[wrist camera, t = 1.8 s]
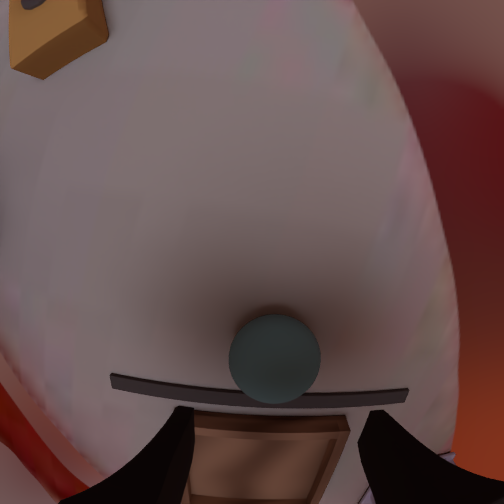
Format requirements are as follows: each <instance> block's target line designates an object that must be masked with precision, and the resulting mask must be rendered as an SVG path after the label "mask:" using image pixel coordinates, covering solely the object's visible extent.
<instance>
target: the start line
mask: <svg viewBox="0 0 504 504" xmlns="http://www.w3.org/2000/svg"><path fill="white" fill-rule="evenodd" d="M110 380H111V385H112V388H113V389H118V390H123V391H128V392H133V393H138V394H144V395H149V396H155V397H162V398H168V399H175V400H182V401H190V402H198V403H208V404H218V405H229V406H243V407H261V408H342V407H360V406H373V405H384V404H394V403H403V402H405V400H406V397H407V395H408V392H409V389H408V388H405V389H395V390H383V391H369V392H349V393H304V394H302V395H301V396H299V397H298V398H296V399H294V400H291V401H288V402H285V403H278V404H270V403H263V402H260V401H257V400H255V399H253V398H251V397H249V396H248V395H246V394H245V393H244V392H243V391H235V390H223V389H212V388H202V387H193V386H185V385H178V384H170V383H163V382H157V381H151V380H145V379H139V378H133V377H128V376H123V375H117V374H113V373H111V374H110Z"/></svg>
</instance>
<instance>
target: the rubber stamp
mask: <svg viewBox="0 0 504 504" xmlns="http://www.w3.org/2000/svg"><path fill="white" fill-rule="evenodd" d="M107 38H108V30H107V25H106V21H105V16H104V11H103V7H102V2H101V0H9V54H10V66H11V68H12V69H14V70H17V71H20V72H23V73H25V74H28V75H31V76H34V77H36V78H39V79H42V80H44V79H45V78H47V77H48V76H50V75H51V74H53V73H54V72H56V71H57V70H59V69H61V68H62V67H64V66H65V65H67V64H68V63H70V62H72V61H73V60H75V59H77V58H78V57H80V56H82V55H83V54H85V53H87V52H89V51H91V50H92V49H94V48H96V47H98V46H100V45H101V44H103V43H105V42H106V41H107Z"/></svg>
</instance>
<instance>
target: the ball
mask: <svg viewBox="0 0 504 504" xmlns="http://www.w3.org/2000/svg"><path fill="white" fill-rule="evenodd" d="M320 362H321V357H320V349H319V345H318V342H317V340H316V338H315V336H314V335H313V333H312V332H311V331H310V330H309V328H308V327H306V326H305V325H304V324H303V323H302V322H300V321H298V320H296V319H294V318H292V317H289V316H286V315H279V314H272V315H265V316H261V317H258V318H256V319H254V320H252V321H250V322H249V323H247V324H246V325H245V326H244V327H243V328H241V330H240V331H239V332H238V333H237V335H236V336H235V338H234V340H233V342H232V344H231V347H230V351H229V368H230V372H231V375H232V377H233V379H234V381H235V383H236V384H237V386H238V387H239V388H240V389H241V390H242V391H243V392H244V393H245V394H246V395H248V396H249V397H251V398H253V399H255V400H257V401H260V402H263V403H270V404H278V403H285V402H288V401H291V400H294V399H296V398H298V397H299V396H301V395H302V394H304V393H305V392H306V391H307V390H308V389H309V388H310V387H311V385H312V384H313V382H314V381H315V379H316V377H317V375H318V372H319V368H320Z"/></svg>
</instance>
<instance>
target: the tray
mask: <svg viewBox="0 0 504 504" xmlns="http://www.w3.org/2000/svg"><path fill="white" fill-rule="evenodd" d="M174 410H175V409H174ZM194 425H195V446H194V453H193V460H192V464H191V468H190V472H189V475H188V479H187V483H186V486H185V490H184V494H183V497H182V501H181V503H182V504H318V503H319V501H320V499H321V497H322V495H323V493H324V491H325V489H326V487H327V485H328V483H329V481H330V479H331V476H332V474H333V472H334V470H335V468H336V465H337V463H338V461H339V458H340V456H341V454H342V451H343V449H344V446H345V444H346V441H347V439H348V436H349V434H350V431H351V430H350V427H349V425H348V422H347V419H346V416H345V415H337V416H258V415H240V414H227V413H216V412H206V411H197V410H194Z"/></svg>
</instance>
